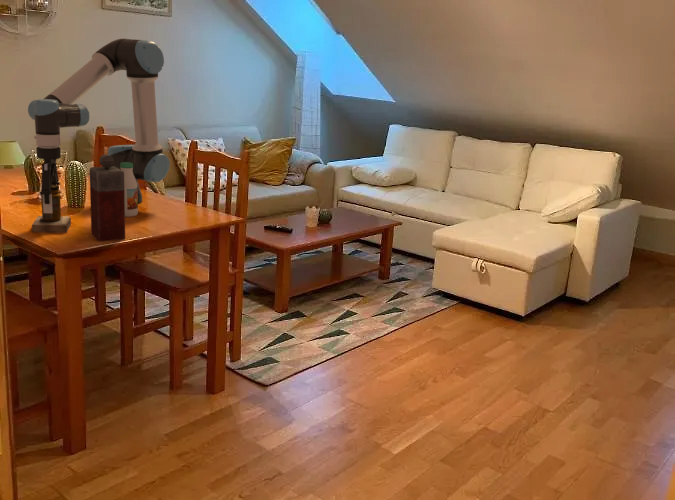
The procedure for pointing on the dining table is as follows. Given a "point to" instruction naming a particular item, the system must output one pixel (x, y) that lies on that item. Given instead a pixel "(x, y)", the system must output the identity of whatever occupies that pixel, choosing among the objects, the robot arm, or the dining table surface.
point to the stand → (52, 226)
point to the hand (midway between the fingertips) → (51, 208)
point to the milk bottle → (130, 190)
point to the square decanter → (107, 201)
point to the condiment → (53, 208)
